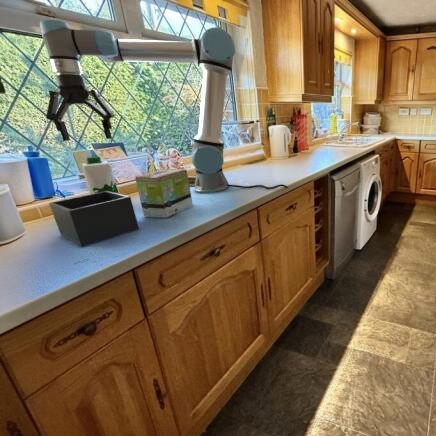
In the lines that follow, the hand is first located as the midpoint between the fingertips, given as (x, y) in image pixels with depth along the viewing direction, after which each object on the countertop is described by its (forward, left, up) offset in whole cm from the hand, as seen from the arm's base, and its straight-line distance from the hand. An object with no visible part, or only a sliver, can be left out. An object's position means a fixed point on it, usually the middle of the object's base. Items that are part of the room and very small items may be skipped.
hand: (88, 139), depth 109 cm
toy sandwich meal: (-26, -35, -27) cm, 51 cm away
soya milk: (0, 0, -27) cm, 27 cm away
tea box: (-25, +10, -27) cm, 38 cm away
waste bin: (-9, +27, -27) cm, 39 cm away
